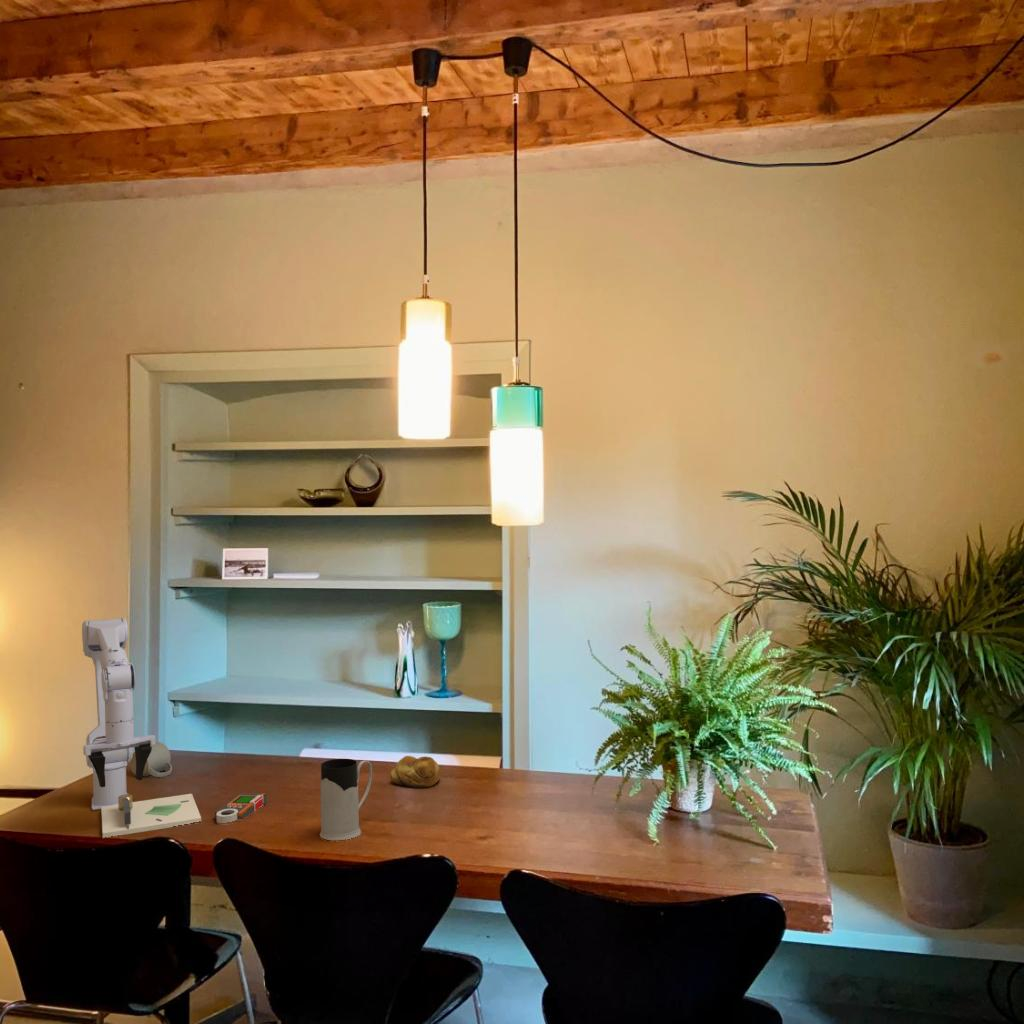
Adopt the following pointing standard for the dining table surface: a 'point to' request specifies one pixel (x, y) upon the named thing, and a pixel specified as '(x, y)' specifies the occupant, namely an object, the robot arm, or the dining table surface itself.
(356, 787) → the tall beer stein
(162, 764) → the ceramic mug
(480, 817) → the dining table surface
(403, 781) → the bread roll
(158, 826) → the dial plate
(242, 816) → the electronic device
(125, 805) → the grey metal bar
